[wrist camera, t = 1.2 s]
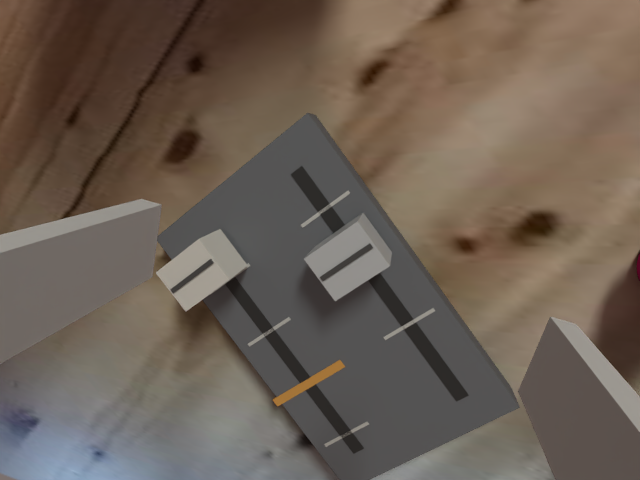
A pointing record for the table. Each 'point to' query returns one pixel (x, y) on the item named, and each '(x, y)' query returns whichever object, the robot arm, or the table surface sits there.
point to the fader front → (349, 257)
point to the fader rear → (201, 269)
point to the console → (340, 313)
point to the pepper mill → (638, 267)
